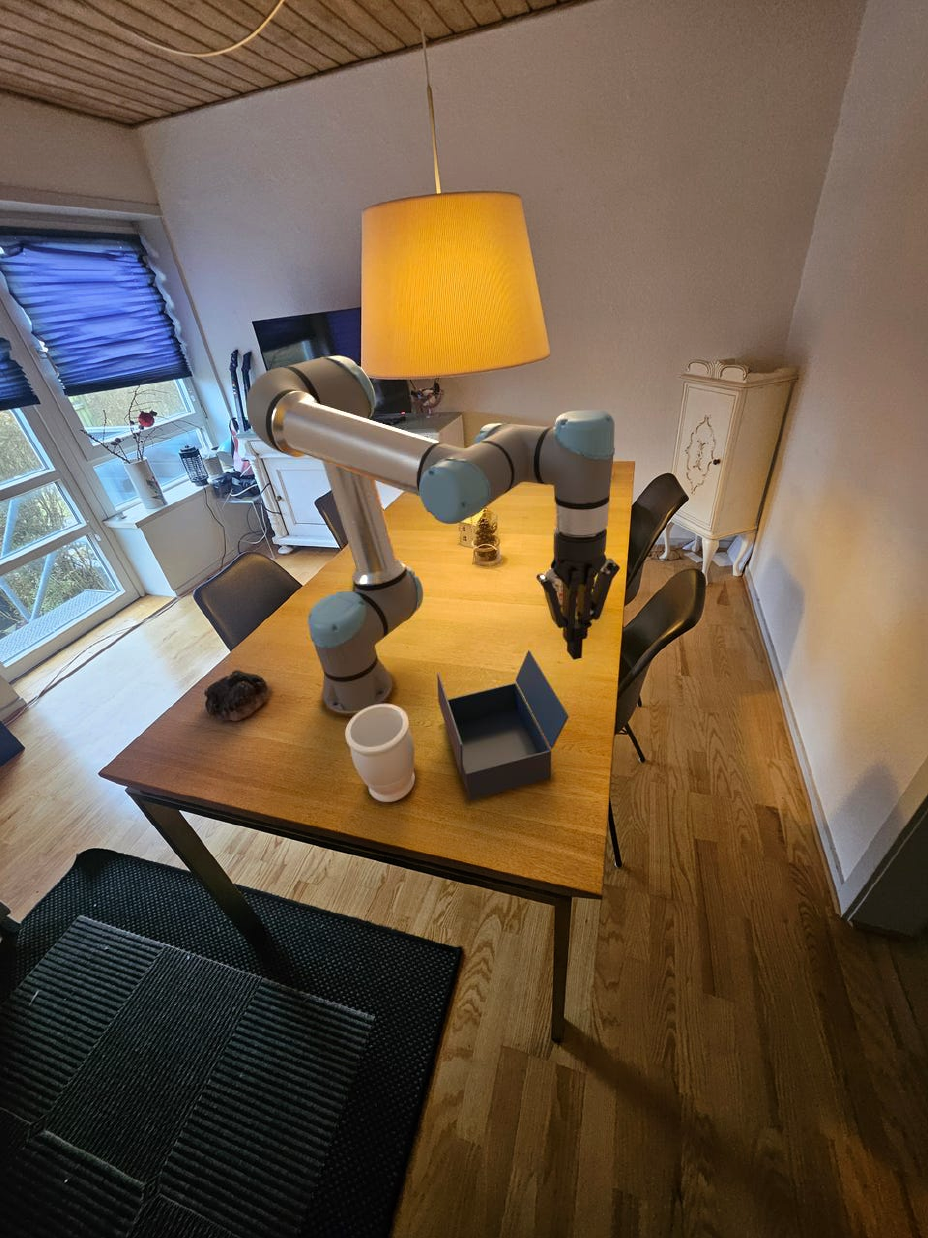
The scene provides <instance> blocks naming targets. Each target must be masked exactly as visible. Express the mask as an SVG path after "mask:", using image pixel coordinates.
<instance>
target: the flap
mask: <svg viewBox="0 0 928 1238" xmlns="http://www.w3.org/2000/svg"><path fill="white" fill-rule="evenodd" d="M515 683H516V684H517V686H518V687H519V689H520V691H521V693H522V695H523V697H524V699H525V701H526V703H527V705H528V707H529V709H530V711H531V713H532V715H533V717H534V719H535V721H536V722H537V724H538V726H539V728H540V730H541V732H542V734H543V736H544V738H545V740H546V742H547V744H548V746H549V748H550V749H553V748H554V747H555V744H556V742H557V740H558V738H559V737H560V734H561V733H562V730H564V727H565V725H566V723H567V721H568V719H569V717H570V716H569V714H568V713H567V711H566V709H565V707H564V706H563V704H562V702H561V701H560V699H559V697H558V696H557V694H556V693H555V690H554V689H553V688H552V686H551V684H550V682H549V680H548V679H547V678H546V675H545V674H544V672H543V671H542V668H541V667H540V666H539V664H538V662H537V660H536V658H535V657H534V656H533V654H532V652H531V650H530V649H529V650H527V652H526V654H525V657H524V659H523V662H522V664H521V666H520V668H519V670H518V673H517V676H516V677H515Z"/></svg>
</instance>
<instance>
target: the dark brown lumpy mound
mask: <svg viewBox="0 0 928 1238" xmlns="http://www.w3.org/2000/svg"><path fill="white" fill-rule="evenodd" d="M270 693H271V692H270V688H269V687H268V684H267V682H266V680H265V679H264V678H263V676H260V675H258V674H255V673H248V672H244V671H242V670H239V669H235V670H233V671H232V672H231V674H229V675H225V676H224V677H222V678H220V679H218V680H216V681H215V682H213V683H212V684H210V685H209V686H207V687H206V688H205V689H204V692H203V695H204V697H205V698H206V700H205V702H204V707H205V709H206V712H207V714H208V715H209V716H211V717H216V718H217V719H219V720H222V721H234V722H237V721H241V720H242V719H244V718H247V717H249V716H250V715H252V714H253V713H254V712H255V711H256V710H258V709H259V708H260V707H262V705H263V704H264V703H266V701H267V699H268V698H269V696H270V695H271V694H270Z"/></svg>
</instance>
